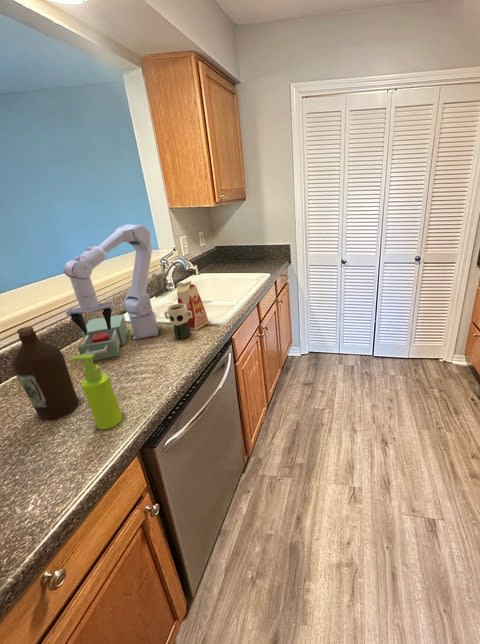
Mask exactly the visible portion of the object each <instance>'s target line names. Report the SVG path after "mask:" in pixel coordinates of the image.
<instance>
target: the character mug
mask: <svg viewBox="0 0 480 644" xmlns="http://www.w3.org/2000/svg"><path fill="white" fill-rule="evenodd" d="M166 310H167V311H164V312H163V313H164V318H165V319H166V320H169V322H170V324H172V325H173V334H174V338H175V339H177V340H182V339H187V338H189V337H190V336H191V334H192V332H191V329H189V326H188V324H187V321H188V320H189V318H193V316H192V311H187V306H186V305H185V304H178V303H175V304H171V305H169V306H168V307H167V309H166ZM188 313H190V316H188Z"/></svg>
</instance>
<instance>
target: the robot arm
mask: <svg viewBox="0 0 480 644" xmlns="http://www.w3.org/2000/svg"><path fill="white" fill-rule="evenodd" d="M151 236H152V233H151V232H150V230H149V229H148V227H147V226H145V225H143V224H129V223H124V224H122V225H120V226H119V227H117V228H116V229H115V231H113V232H112V234H110V235H109V236H108V237H107V238H106V239H104V240H103V241H102V242H101V243H100V244H99V245H98V246H95V245H92V246H87V247H86V248H85V251H84V252H82V253H81V254H80V255H76V256H75V257H74V260H73V259H71V260H69V261H67V262H66V263H65V264H64V266H63V270H62V272H63V274H64V275H65V276H67V277H68V278H69V280H70V283H71V287H72V289H73V292H74V295H75V297H76V300H77V303H78V305H79V306H78V307H74V308H70V309H69V308H68V309H66V310H65V314H66V317H70V320H71V321H72V322H73V323H74V324H75V325H77V326H78V327H79V329H80V330H81V331H82V332H83V333H84V334H86V333H87V328H86V325H87V324H86V323H85V320H84V315H83V314H90V313H95V312H102V313H101V314H102V316H103V318H105V321H106V324H107V328H108V330H109V329H111V316H112V312H113V310H115V308H116V307H115V303H114V302H107V303H106V302H104V303H100V302H99V300H98V297H97V294H96V291H95V287H94V285H93V282H92V278H91V276H92V273H93V270H95V268H97V267H98V266H99V265H100V264H102V263H103V262H104V261H105V260H106V259H107V254H108V253H110V252H111V251H113V250H114V249H115V248H117V247H118V246H119V245H121V244H122V243H127V244H129V245H130V246H131V247H133V249H134V250H135V257H134V265H133V272H132V279H131V286H130V290H129V291H128V292H127V293H126V295H125V298H124V300H123V302H122V309H123V310H124V311H125V312H126V313H127V314H128V317H129V321H130V324H131V327H132V331H133V336H132V340H138V339H144V338H149V337H155V336H159V324H158V321H157V316H156V314H155V311H153V312H150V310H151V306H152V303H151V296H149V294H148V293H147V289H148V282H149V276H150V275H149V274H150V266H151V261H152V253H153V251H152V250H153V246H152V241H151ZM137 298H138V299H137ZM150 303H151V304H150Z"/></svg>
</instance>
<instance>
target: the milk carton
mask: <svg viewBox="0 0 480 644" xmlns="http://www.w3.org/2000/svg"><path fill="white" fill-rule="evenodd" d="M175 285H176V286H177V289H176V297H177V304H185V305H186V306H187V311H192V316H193V318H189V320H188V321H187V324H188V326H189V329H190V331H197V330H199V329H200V328H202V327H204V326H205V325H207V324H208V323H210V321H209V317H208V315H207V312H206V308H205V306H204V303H203V300H202V298H201V295H200V293H199V290H198V288H197V285H196V284H193V283H192V280H190V281H187V282H184V283H176V284H175ZM188 316H190V313H188Z"/></svg>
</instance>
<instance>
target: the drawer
mask: <svg viewBox="0 0 480 644" xmlns="http://www.w3.org/2000/svg"><path fill="white" fill-rule="evenodd" d="M100 333H107V334H108V337H109V341H103V342H98V343H93V341H92V337H93V336H94V335H97V334H100ZM120 342H121V339H120V336H119V333H118V330H117V329H113V330H108V331H102V332H96V333H90V334H87V336H86V338H85V339H84V338H83V342H82V343H81V345H78V346H77V350H78V352H79V355H80V354H95V357H94V358H93V359H92V361H93V362H94V361H99V360H102V359H109V358H113V357H117V356H120V351H119V348H120V346H121V345H120ZM81 361H82V363H84V361H83V360H81Z"/></svg>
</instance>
